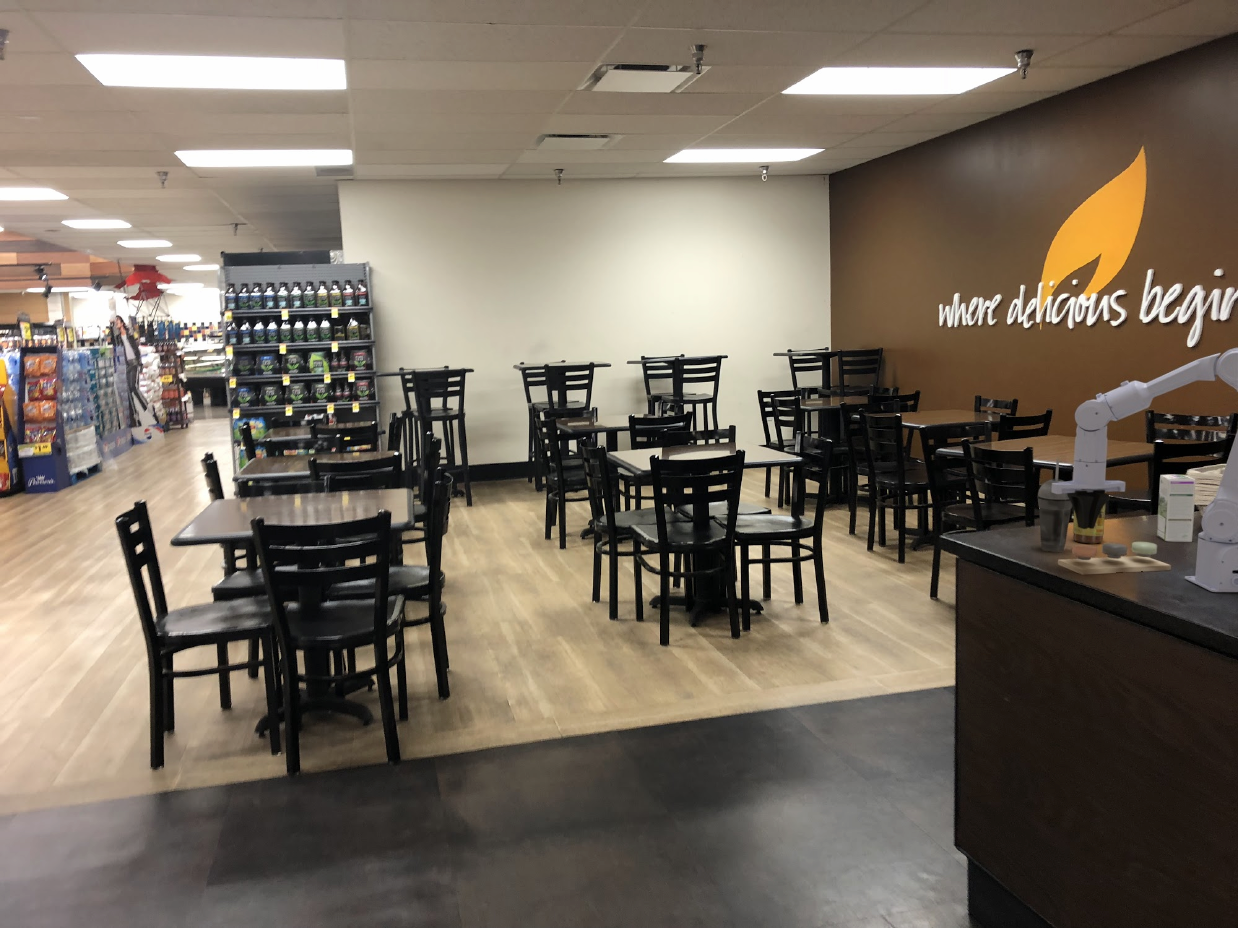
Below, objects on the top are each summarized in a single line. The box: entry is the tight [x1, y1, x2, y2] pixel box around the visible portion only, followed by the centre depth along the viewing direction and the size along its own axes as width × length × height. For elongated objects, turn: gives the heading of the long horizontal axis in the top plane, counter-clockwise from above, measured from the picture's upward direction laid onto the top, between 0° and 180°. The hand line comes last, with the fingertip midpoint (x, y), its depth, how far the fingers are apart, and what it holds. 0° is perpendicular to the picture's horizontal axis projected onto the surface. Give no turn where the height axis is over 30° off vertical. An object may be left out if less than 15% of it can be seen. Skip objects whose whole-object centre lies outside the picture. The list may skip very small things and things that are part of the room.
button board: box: [1057, 555, 1172, 576], centre depth 189 cm, size 19×8×1 cm, turn 97°
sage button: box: [1131, 541, 1158, 558], centre depth 189 cm, size 4×4×2 cm
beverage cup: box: [1036, 458, 1073, 553], centre depth 202 cm, size 7×7×20 cm
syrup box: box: [1156, 473, 1197, 543], centre depth 211 cm, size 6×6×14 cm
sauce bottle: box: [1072, 492, 1107, 544], centre depth 210 cm, size 7×6×20 cm
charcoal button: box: [1101, 542, 1128, 559], centre depth 188 cm, size 4×4×2 cm
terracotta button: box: [1071, 543, 1098, 560], centre depth 187 cm, size 4×4×2 cm
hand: (1085, 527), depth 187 cm, fingers closed
